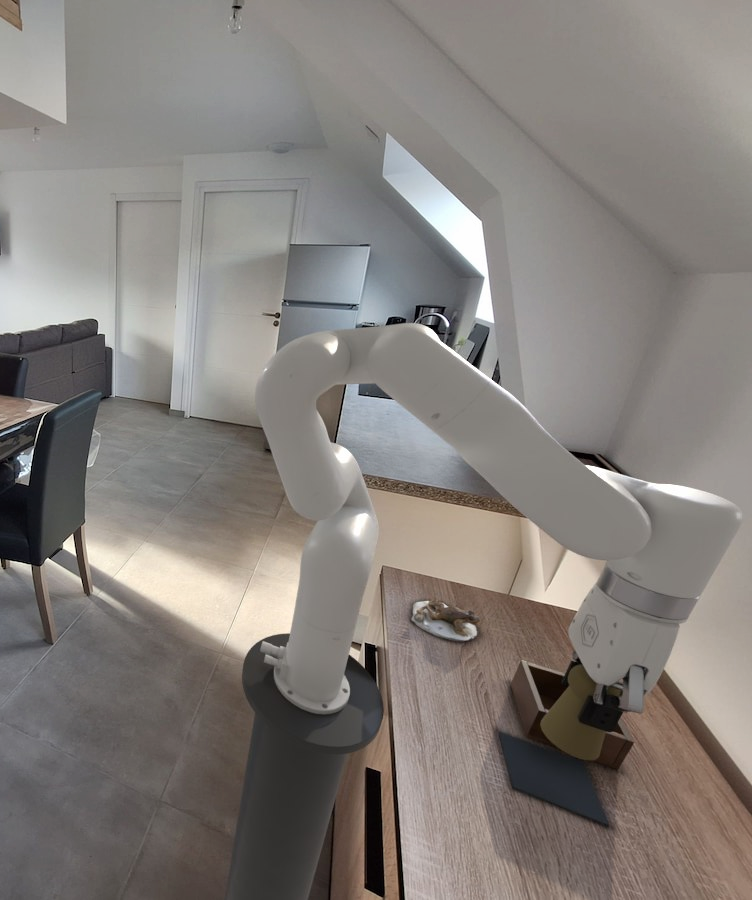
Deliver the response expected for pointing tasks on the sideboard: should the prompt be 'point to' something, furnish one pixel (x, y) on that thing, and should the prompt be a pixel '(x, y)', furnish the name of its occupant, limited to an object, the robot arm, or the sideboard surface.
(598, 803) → the mat
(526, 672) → the open wooden box
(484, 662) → the sideboard surface
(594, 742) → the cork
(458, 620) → the frog figurine
